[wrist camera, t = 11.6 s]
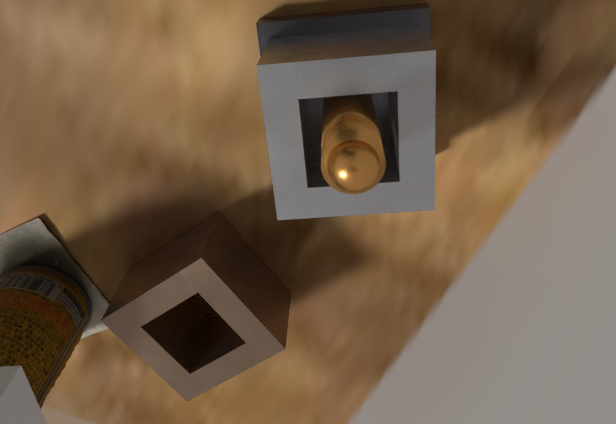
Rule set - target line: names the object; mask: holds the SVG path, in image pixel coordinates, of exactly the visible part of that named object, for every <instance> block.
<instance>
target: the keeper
mask: <svg viewBox="0 0 616 424" xmlns="http://www.w3.org/2000/svg"><path fill="white" fill-rule="evenodd" d="M256 25H257V33H258V40H259V48H260V56H261V55H262V52H263V50H264V48H265V46H266V43H267V41H268V39H271V38H283V37H294V36H305V35H317V34H328V33H339V32H351V31H362V30H373V29H385V28H396V27H407V26H418V25H419V26H420V28H421V29H422V31H423V32H424V33H425V35H426V36H427V38H428V39H429V41H430V7H429V6H428V4H427V3H425V4H415V5H404V6H393V7H382V8H371V9H361V10H350V11H339V12H328V13H317V14H307V15H296V16H285V17H274V18H263V19H259V20H258V22H257V23H256ZM306 100H307V110H308V120H309V131H310V141H311V146H312V145H322V149H321V170H322V174H323V177H324V179H325V180H326V182H327V183H328V184H329V185H330V186H331V187H332V188H334V189H335V190H337V191H339V192H342V193H346V194H360V193H363V192H366V191H368V190H370V189H372V188H373V187H375V186H376V185H377V184H378V183H379V181H380V180H381V179H382V177H383V175H384V172H385V167H386V160H385V155H384V150H383V145H382V141H381V140H390V139H389V105H388V92H382V93H369V94H357V95H345V96H332V97H320V98H307V99H306Z"/></svg>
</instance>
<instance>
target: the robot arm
mask: <svg viewBox="0 0 616 424" xmlns="http://www.w3.org/2000/svg"><path fill="white" fill-rule="evenodd" d="M0 424H47V423H46V420H45V418H44V416H43V414H42V411H41V409H40V407H39V405H38V402H37V400H36V398H35V396H34V393H33V391H32V389H31V387H30V384H29V382H28V380H27V377H26V375H25V373H24V371H23V368H22V366H4V367H0Z"/></svg>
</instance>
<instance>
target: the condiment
mask: <svg viewBox="0 0 616 424" xmlns="http://www.w3.org/2000/svg"><path fill="white" fill-rule="evenodd" d="M55 262H56V263H58V264H57V265H55ZM108 306H109V303H108V302H107V300H106V299H105V298H104V297H103V296H102V295H101V293H100V292H99V290H98V289H97V288H96V286H95V285H94V284H93V283H91V281H90V279H89V278H88V277H87V276H86V275H85V274H84V273H83V271H82V270H81V269H80V268H79V267H78V266H77V265H76V264H75V263H74V262H73V260H72V258H71V257H70V255H69V254H68V253H67V252H66V251H65V249H64V248H63V246H62V245H61V244H60V243H59V241H58V240H57V239H56V238H55V237H54V236H53V235H52V234H51V233H50V232H49V231H48V229H47V228H46V226H45V225H44V224H43V223H42V221H41V220H40V219H39V218H36V219H34V220H32V221H30V222H27V223H24V224H22V225H20V226H18V227H16V228H14V229H12V230H10V231H7V232H5V233H3V234H1V235H0V367H4V366H22V368H23V371H24V373H25V375H26V377H27V380H28V382H29V384H30V387H31V389H32V391H33V393H34V396H35V398H36V400H37V402H38V405H39V407H40V409H41V408H42V406H43V403H44V401H45V399H46V396H47V395H48V393H49V392H50V390H51V388H52V387H54V384H55V381H56V380H57V378H58V377H59V376H60V374H61V372H62V370H63V369H64V368H65V365H66V362H67V361H68V359H69V358H70V357H71V354H72V352H73V351H74V348H75V346H76V345H77V344H78V342H79V341H80V339H81V338H84V337H87V336H89V335H91V334H94V333H97V332H100V331H103V330H106V329H108V327H107V326H106V325H105V324H104V323H103V322H101V319H102V317H103V315H104V314H105V312H106V310H107V308H108Z"/></svg>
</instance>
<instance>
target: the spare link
mask: <svg viewBox="0 0 616 424" xmlns="http://www.w3.org/2000/svg"><path fill="white" fill-rule="evenodd" d="M196 293H199V294H200V295H201V296H202V297H203V298H204V299H205V300H206V301H207V303H208V304H209V305H210V306H211V307H212V308H213V309H214V310H215V311H216V312H215V313H214V314H212V315H210V316H208V317H206V316H205V315H204V314H203V313H202V312H201V311H200V310H199V309H198V308H197V307H196V306H195V305H194V304H193V303H192V302H191V301H190V300H189V299H188V298H189V297H191V296H193V295H194V294H196ZM290 298H291V293H290V292H289V291H288V290H287V289H286V288H285V286H284V285H283V284H282V283H281V282H280V281H279V280H278V278H277V277H276V276H275V275H274V274H273V273H272V272H271V270H270V269H269V268H268V267H267V266H266V265H265V263H264V262H263V261H262V260H261V259H260V258H259V257H258V255H257V254H256V253H255V252H254V251H253V250H252V249H251V247H250V246H249V245H248V244H247V243H246V242H245V240H244V239H243V238H242V237H241V236H240V235H239V234H238V232H237V231H236V230H235V229H234V228H233V227H232V226H231V224H230V223H229V222H228V221H227V220H226V219H225V218H224V216H223V215H222V214H221V213H220V212H219V211H217V212H215V213H214V214H212V215H211V216H209V217H208V218H206V219H204V220H203V221H201V222H200V223H198V224H197V225H195V226H194V227H192V228H191V229H189V230H187V231H186V232H184V233H183V234H181V235H180V236H178V237H177V238H175V239H174V240H172V241H171V242H169V243H167V244H166V245H164V246H163V247H161V248H160V249H158V250H157V251H155V252H154V253H152V254H150V255H149V256H147V257H146V258H144V259H143V260H141V261H140V262H138V263H137V264H135V265H133V266H132V267H130V268H129V270H128V271H127V273H126V275H125V277H124V279H123V281H122V282H121V284H120V286H119V288H118V290H117V292H116V293H115V295H114V297H113V299H112V301H111V303H110V304H109V306H108V308H107V310H106V312H105V314H104V315H103V317H102V319H101V322H103V323H104V324H105V325H106V326H107V327H108V328H109V329H110V330H111V331H112V332H113V333H114V334H115V335H117V336H118V337H119V338H120V339H121V340H122V341H123V342H124V343H125V344H126V345H127V346H128V347H129V348H130V349H132V350H133V351H134V352H135V353H136V354H137V355H138V356H139V357H140V358H141V359H142V360H143V361H144V362H145V363H147V364H148V365H149V366H150V367H151V368H152V369H153V370H154V371H155V372H156V373H157V374H158V375H159V376H161V377H162V378H163V379H164V380H165V381H166V382H167V383H168V384H169V385H170V386H171V387H172V388H173V389H174V390H176V391H177V392H178V393H179V394H180V395H181V396H182V397H183V398H184V399H185V400H186V401H189V400H191V399H193V398H195V397H196V396H198V395H200V394H202V393H204V392H206V391H208V390H210V389H211V388H213V387H215V386H217V385H219V384H221V383H223V382H225V381H226V380H228V379H230V378H232V377H234V376H236V375H238V374H240V373H241V372H243V371H245V370H247V369H249V368H251V367H253V366H255V365H256V364H258V363H260V362H262V361H264V360H266V359H268V358H270V357H271V356H273V355H275V354H277V353H279V352H281V351H283V350H285V347H286V338H287V328H288V318H289V308H290Z"/></svg>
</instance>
